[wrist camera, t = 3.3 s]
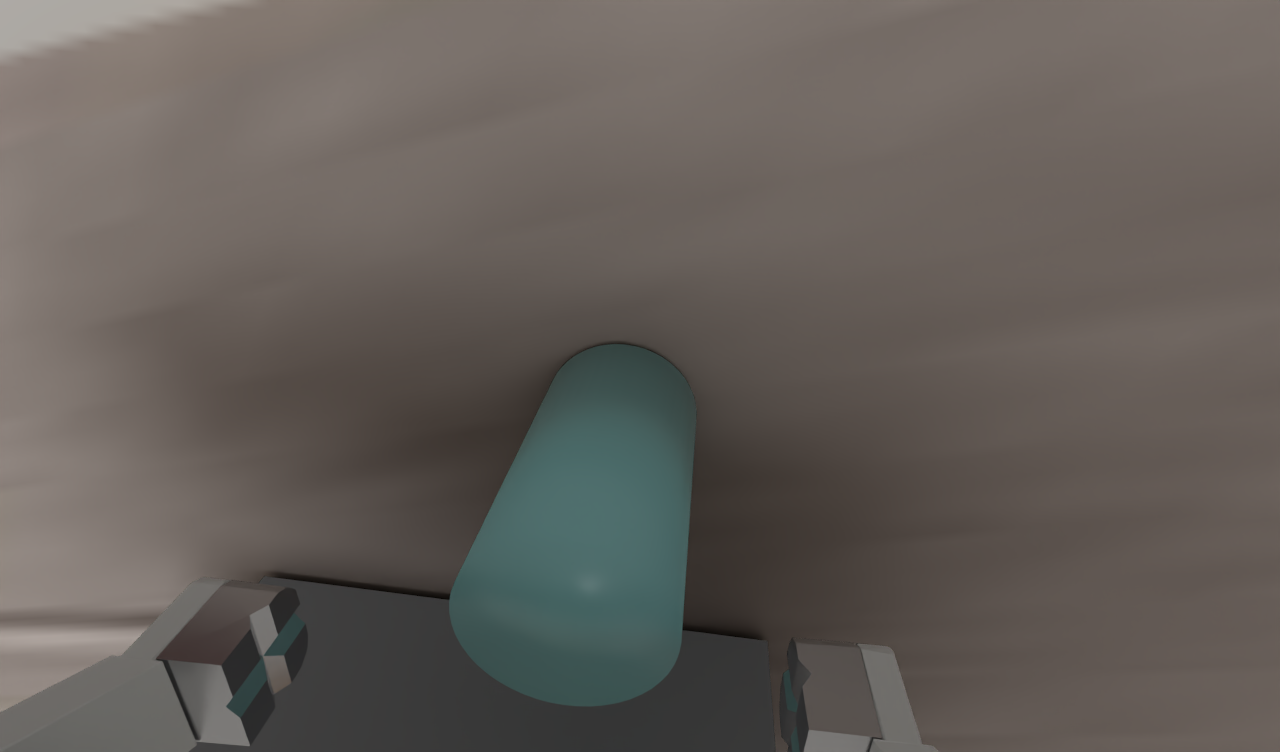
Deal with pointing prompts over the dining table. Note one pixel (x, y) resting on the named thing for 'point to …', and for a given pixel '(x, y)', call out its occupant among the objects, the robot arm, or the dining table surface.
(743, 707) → the housing
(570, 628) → the teal rounded capsule
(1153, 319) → the dining table surface
